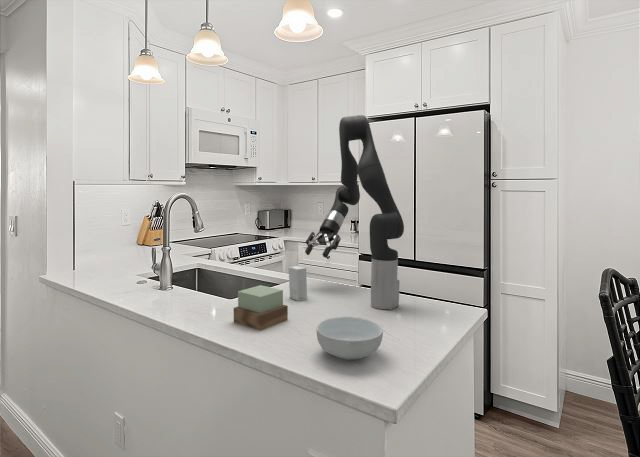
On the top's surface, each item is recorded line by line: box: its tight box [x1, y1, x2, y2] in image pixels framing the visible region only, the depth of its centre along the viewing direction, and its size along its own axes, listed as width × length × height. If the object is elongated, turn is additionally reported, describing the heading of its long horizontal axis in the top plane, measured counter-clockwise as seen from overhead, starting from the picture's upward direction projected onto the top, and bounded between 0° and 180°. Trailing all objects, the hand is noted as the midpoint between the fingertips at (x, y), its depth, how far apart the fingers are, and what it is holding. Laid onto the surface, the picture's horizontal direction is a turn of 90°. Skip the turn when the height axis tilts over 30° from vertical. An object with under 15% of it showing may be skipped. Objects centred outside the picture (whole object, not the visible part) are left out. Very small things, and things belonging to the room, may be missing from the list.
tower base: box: [233, 304, 289, 331], centre depth 128 cm, size 12×12×5 cm
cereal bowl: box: [316, 316, 384, 361], centre depth 104 cm, size 17×17×7 cm
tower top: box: [237, 284, 284, 313], centre depth 128 cm, size 10×10×5 cm
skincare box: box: [288, 265, 308, 302], centre depth 152 cm, size 6×4×12 cm
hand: (315, 255), depth 160 cm, fingers open, 8 cm apart
